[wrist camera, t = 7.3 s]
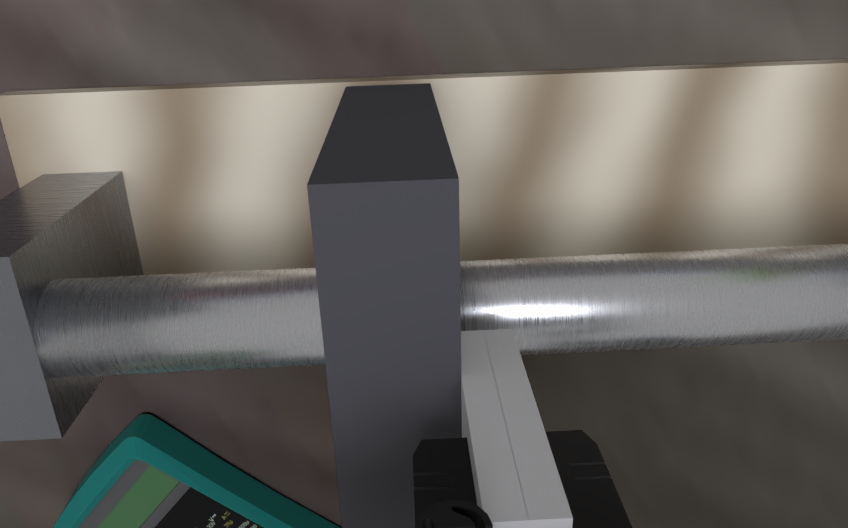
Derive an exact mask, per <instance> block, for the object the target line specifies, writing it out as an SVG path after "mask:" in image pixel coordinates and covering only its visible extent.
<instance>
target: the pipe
mask: <svg viewBox="0 0 848 528" xmlns="http://www.w3.org/2000/svg"><path fill="white" fill-rule="evenodd" d="M460 305H461V331H477V330H498V329H512V330H513V333H514V336H515V339H516V342H517V345H518V349H519V352H520V355H532V354H552V353H573V352H594V351H615V350H635V349H656V348H677V347H698V346H719V345H739V344H760V343H781V342H802V341H822V340H843V339H848V244H831V245H809V246H787V247H765V248H742V249H720V250H698V251H675V252H653V253H631V254H609V255H586V256H564V257H542V258H519V259H497V260H475V261H460ZM324 364H325V356H324V346H323V337H322V327H321V317H320V307H319V298H318V288H317V278H316V268H296V269H274V270H252V271H230V272H207V273H185V274H163V275H144V273H143V268H142V264H141V259H140V254H139V249H138V245H137V240H136V235H135V231H134V226H133V221H132V216H131V212H130V207H129V202H128V197H127V193H126V188H125V183H124V178H123V174H122V171H113V172H88V173H64V174H43V175H41V176H39V177H37V178H36V179H34V180H32V181H31V182H29V183H27V184H26V185H24V186H22V187H21V188H19V189H17V190H16V191H14V192H12V193H11V194H9V195H7V196H6V197H4V198H2V199H1V200H0V441H16V440H36V439H56V438H62V437H63V436H64V434H65V433H66V432H67V430H68V429H69V427H70V426H71V424H72V423H73V422H74V420H75V419H76V417H77V416H78V414H79V413H80V412H81V410H82V409H83V407H84V406H85V404H86V403H87V402H88V400H89V399H90V397H91V396H92V395H93V393H94V392H95V390H96V389H97V387H98V386H99V385H100V383H101V382H102V380H103V379H104V377H105V376H106V375H116V374H137V373H158V372H178V371H199V370H220V369H241V368H261V367H282V366H303V365H324Z"/></svg>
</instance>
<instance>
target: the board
mask: <svg viewBox="0 0 848 528" xmlns="http://www.w3.org/2000/svg"><path fill="white" fill-rule="evenodd" d="M424 83H430V84H431V88H432V91H433V94H434V98H435V101H436V104H437V107H438V111H439V114H440V117H441V121H442V124H443V127H444V131H445V134H446V137H447V141H448V144H449V147H450V150H451V154H452V157H453V160H454V164H455V167H456V170H457V174H458V177H459V223H460V261H475V260H497V259H519V258H542V257H564V256H586V255H609V254H631V253H653V252H675V251H698V250H720V249H742V248H765V247H787V246H809V245H831V244H848V59H832V60H806V61H780V62H754V63H728V64H702V65H676V66H650V67H624V68H598V69H572V70H546V71H520V72H494V73H468V74H442V75H416V76H390V77H364V78H339V79H313V80H287V81H261V82H235V83H209V84H183V85H157V86H131V87H105V88H79V89H53V90H27V91H8V92H4V93H1V94H0V118H1V122H2V126H3V129H4V133H5V136H6V140H7V144H8V147H9V151H10V155H11V158H12V162H13V166H14V169H15V173H16V177H17V180H18V184H19V187H20V188H21V187H22V186H24V185H26V184H27V183H29V182H31V181H32V180H34V179H36V178H37V177H39V176H41V175H43V174H64V173H88V172H113V171H122V174H123V178H124V183H125V188H126V193H127V197H128V202H129V207H130V212H131V216H132V221H133V226H134V231H135V235H136V240H137V245H138V249H139V254H140V259H141V264H142V268H143V273H144V275H163V274H185V273H207V272H230V271H252V270H274V269H296V268H315V259H314V249H313V239H312V230H311V220H310V210H309V200H308V191H307V183H308V181H309V178H310V176H311V173H312V171H313V168H314V166H315V163H316V161H317V158H318V156H319V153H320V151H321V148H322V146H323V143H324V140H325V138H326V135H327V133H328V130H329V128H330V125H331V123H332V120H333V118H334V115H335V113H336V110H337V108H338V105H339V103H340V100H341V98H342V95H343V93H344V90H345V88H346V87H347V86H372V85H398V84H424Z"/></svg>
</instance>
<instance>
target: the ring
mask: <svg viewBox="0 0 848 528" xmlns="http://www.w3.org/2000/svg"><path fill="white" fill-rule="evenodd" d="M307 191H308V200H309V210H310V220H311V230H312V239H313V249H314V259H315V268H316V278H317V288H318V298H319V307H320V317H321V327H322V337H323V346H324V356H325V366H326V375H327V385H328V395H329V405H330V414H331V424H332V434H333V444H334V453H335V463H336V473H337V482H338V492H339V502H340V512H341V521H342V528H415V507H414V480H413V454H414V452H415V450H416V449H417V447H418V445H419V443H420V441H421V440H424V439H444V438H462V406H461V305H460V223H459V177H458V174H457V170H456V167H455V164H454V160H453V157H452V154H451V150H450V147H449V144H448V141H447V137H446V134H445V131H444V127H443V124H442V121H441V117H440V114H439V111H438V107H437V104H436V101H435V98H434V94H433V91H432V88H431V84H430V83H424V84H398V85H372V86H347V87H346V88H345V90H344V93H343V95H342V98H341V100H340V103H339V105H338V108H337V110H336V113H335V115H334V118H333V120H332V123H331V125H330V128H329V130H328V133H327V135H326V138H325V140H324V143H323V146H322V148H321V151H320V153H319V156H318V158H317V161H316V163H315V166H314V168H313V171H312V173H311V176H310V178H309V181H308V183H307Z"/></svg>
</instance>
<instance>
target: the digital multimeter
mask: <svg viewBox="0 0 848 528" xmlns="http://www.w3.org/2000/svg"><path fill="white" fill-rule="evenodd" d="M213 499H214V500H213ZM238 513H239V514H238ZM247 518H248V519H247ZM256 523H257V524H256ZM263 527H264V528H341V527H339V526H337V525H335V524H333V523H331V522H329V521H328V520H326V519H324V518H322V517H321V516H319V515H317V514H315V513H314V512H312V511H310V510H308V509H306V508H305V507H303V506H301V505H299V504H297V503H295V502H294V501H292V500H290V499H288V498H286V497H284V496H283V495H281V494H279V493H277V492H276V491H274V490H272V489H271V488H269V487H267V486H266V485H264V484H262V483H261V482H259V481H257V480H256V479H254V478H252V477H251V476H249V475H247V474H246V473H244V472H242V471H240V470H239V469H237V468H235V467H234V466H232V465H230V464H229V463H227V462H225V461H223V460H222V459H220V458H219V457H217V456H216V455H214V454H213V453H211V452H209V451H208V450H206V449H205V448H203V447H202V446H200V445H199V444H197V443H196V442H194V441H192V440H191V439H189V438H188V437H186V436H185V435H183V434H181V433H180V432H178V431H177V430H175V429H173V428H172V427H170V426H169V425H167V424H165V423H164V422H162V421H161V420H159V419H157V418H156V417H154V416H152V415H149V414H141V415H139V416H138V417H136V418H135V419H134V420H133V421H132V422H131V423H130V424H129V425H128V426H127V427H126V428H125V429H124V430H123V431H122V432H121V433H120V435H119V436H118V437H117V438H116V439H115V440H114V441H113V442H112V443H111V444H110V445H109V446H108V447H107V449H106V450H105V451H104V452H103V453H102V455H101V456H100V457H99V458H98V460H97V461H96V462H95V463H94V465H93V466H92V467H91V469H90V470H89V472H88V473H87V474H86V476H85V477H84V479H83V480H82V482H81V483H80V485H79V486H78V488H77V489H76V491H75V492H74V494H73V495H72V497H71V499H70V500H69V502H68V503H67V505H66V507H65V509H64V510H63V512H62V514H61V515H60V517H59V519H58V520H57V522H56V524H55V525H54V528H263Z"/></svg>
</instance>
